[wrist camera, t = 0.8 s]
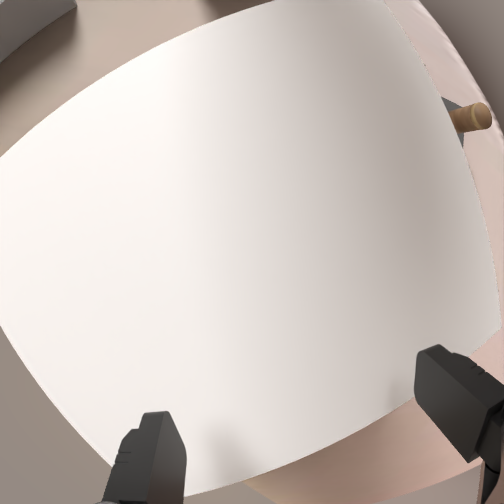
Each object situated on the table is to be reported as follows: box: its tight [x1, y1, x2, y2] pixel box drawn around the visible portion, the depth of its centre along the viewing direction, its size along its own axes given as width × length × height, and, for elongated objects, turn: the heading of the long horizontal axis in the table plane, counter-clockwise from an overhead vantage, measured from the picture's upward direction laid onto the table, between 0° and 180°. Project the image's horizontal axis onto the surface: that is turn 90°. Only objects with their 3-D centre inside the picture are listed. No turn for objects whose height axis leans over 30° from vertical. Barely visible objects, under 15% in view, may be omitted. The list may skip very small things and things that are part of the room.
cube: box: [0, 0, 502, 497], centre depth 25 cm, size 25×21×24 cm
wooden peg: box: [448, 103, 492, 134], centre depth 31 cm, size 3×3×9 cm
